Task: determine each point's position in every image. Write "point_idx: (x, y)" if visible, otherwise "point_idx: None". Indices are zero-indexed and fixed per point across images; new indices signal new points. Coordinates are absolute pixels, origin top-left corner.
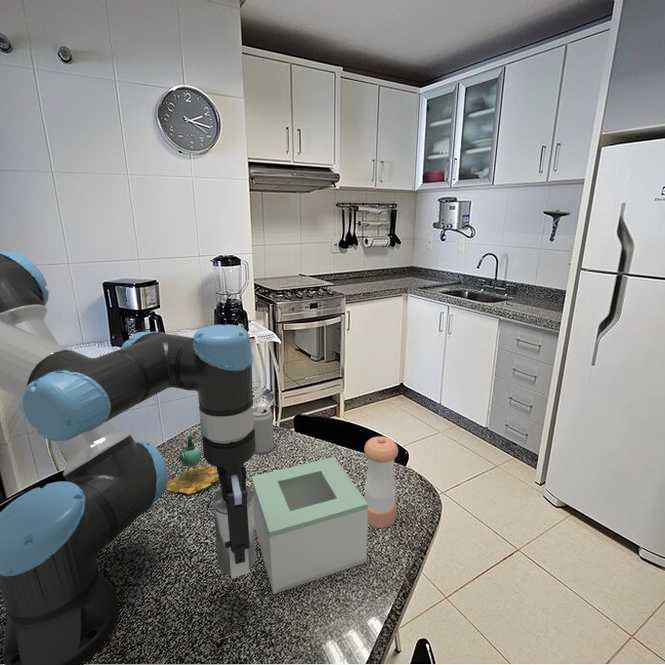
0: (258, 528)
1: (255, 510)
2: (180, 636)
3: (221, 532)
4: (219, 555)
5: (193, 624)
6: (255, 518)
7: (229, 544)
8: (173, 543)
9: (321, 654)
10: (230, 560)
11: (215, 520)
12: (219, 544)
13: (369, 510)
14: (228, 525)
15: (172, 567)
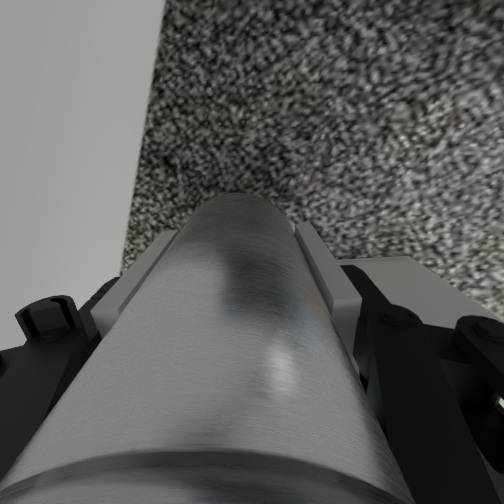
0: (383, 279)
1: (431, 295)
2: (202, 76)
3: (131, 301)
4: (200, 216)
5: (222, 107)
6: (420, 277)
7: (42, 329)
8: (488, 47)
9: None
10: (135, 262)
11: (156, 314)
12: (181, 241)
13: None
14: (43, 411)
15: (403, 47)
